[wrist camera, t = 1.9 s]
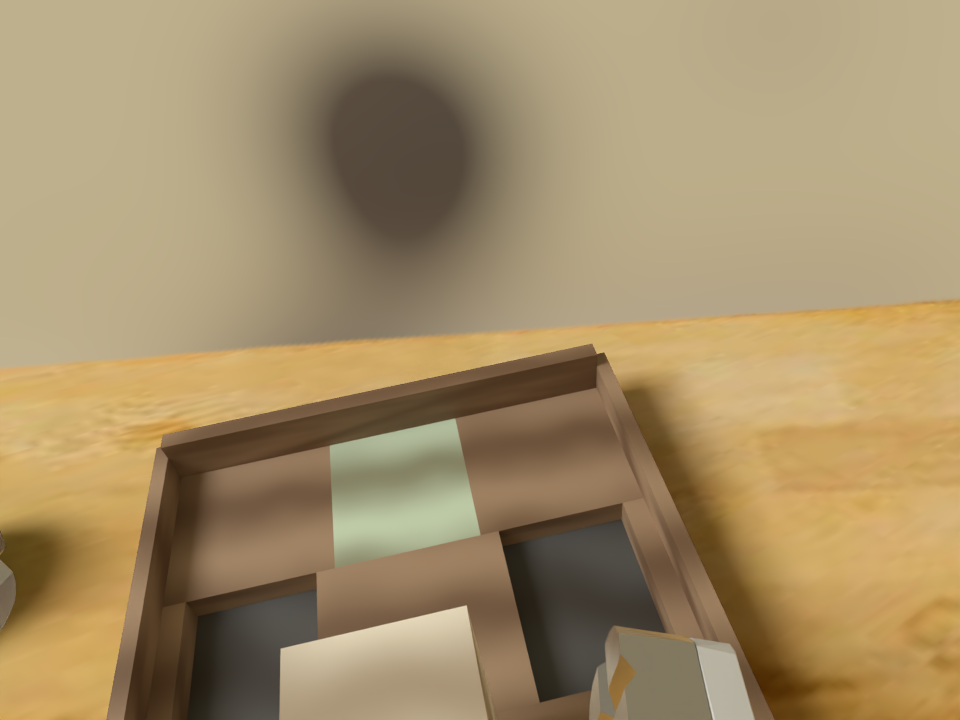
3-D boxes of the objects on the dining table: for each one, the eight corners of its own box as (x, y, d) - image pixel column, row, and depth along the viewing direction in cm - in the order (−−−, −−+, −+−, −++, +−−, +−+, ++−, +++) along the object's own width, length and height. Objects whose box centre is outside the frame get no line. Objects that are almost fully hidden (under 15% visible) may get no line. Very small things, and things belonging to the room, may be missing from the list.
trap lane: (832, 922, 26) (871, 904, 23) (93, 1121, 25) (10, 1136, 21) (602, 394, 46) (604, 341, 42) (184, 485, 44) (149, 437, 41)
